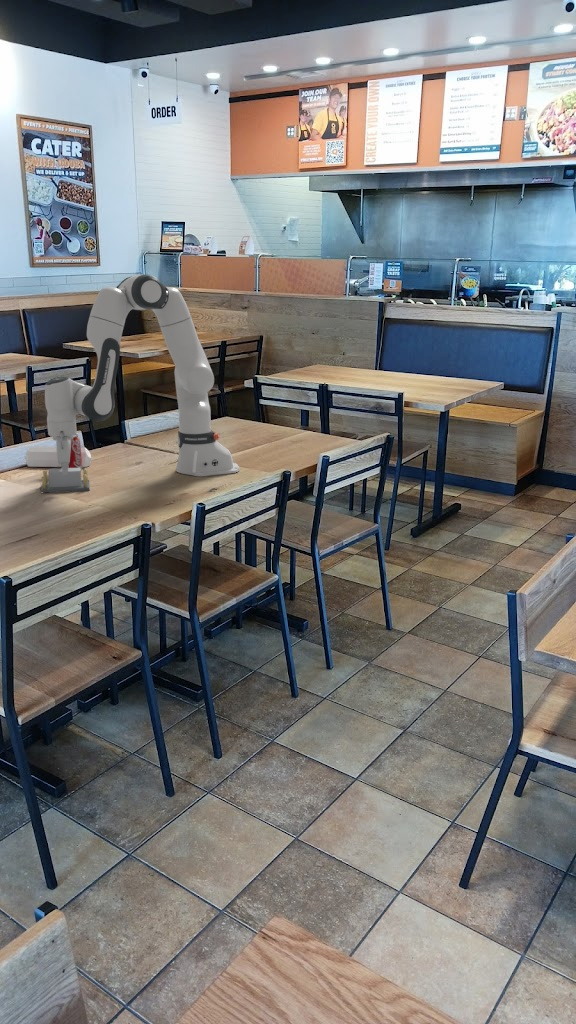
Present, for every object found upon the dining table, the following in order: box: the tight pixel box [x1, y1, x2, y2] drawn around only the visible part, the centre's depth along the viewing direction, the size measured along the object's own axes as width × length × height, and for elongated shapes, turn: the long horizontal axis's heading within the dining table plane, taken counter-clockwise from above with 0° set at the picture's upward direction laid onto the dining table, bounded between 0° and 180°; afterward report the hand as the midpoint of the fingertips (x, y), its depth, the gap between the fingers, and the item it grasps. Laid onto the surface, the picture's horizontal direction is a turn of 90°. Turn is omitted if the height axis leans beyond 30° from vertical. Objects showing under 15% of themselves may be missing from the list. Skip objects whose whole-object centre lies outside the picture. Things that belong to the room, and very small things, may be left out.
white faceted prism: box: [24, 446, 92, 468], centre depth 282 cm, size 7×7×24 cm
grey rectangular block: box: [47, 467, 83, 487], centre depth 255 cm, size 10×4×5 cm, turn 104°
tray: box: [40, 468, 90, 493], centre depth 255 cm, size 15×10×5 cm, turn 104°
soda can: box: [60, 433, 83, 471], centre depth 273 cm, size 7×7×13 cm
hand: (65, 470), depth 254 cm, fingers open, 8 cm apart
